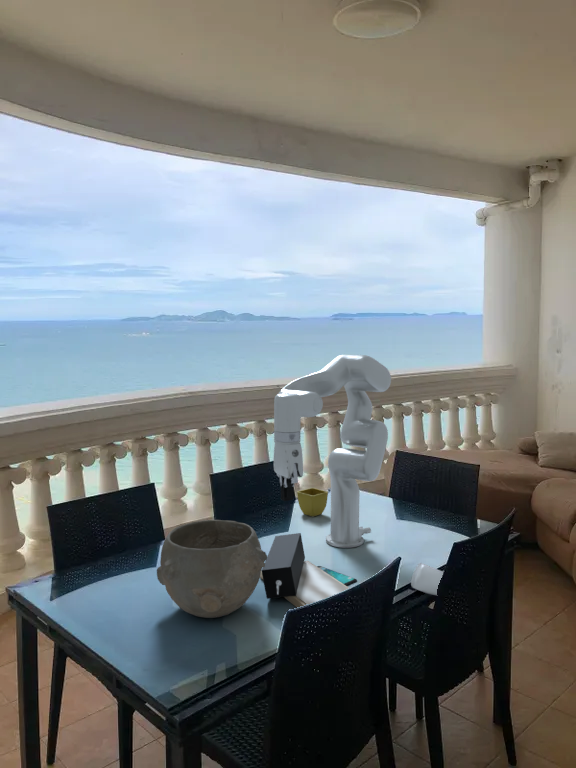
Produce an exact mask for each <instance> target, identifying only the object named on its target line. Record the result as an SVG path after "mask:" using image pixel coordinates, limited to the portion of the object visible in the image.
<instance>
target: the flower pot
mask: <svg viewBox="0 0 576 768" xmlns="http://www.w3.org/2000/svg"><path fill="white" fill-rule="evenodd" d="M296 493H297V494H296V495H297V502H298V506H299V508H300V510H301V512H302V513H303V515H306V516H309V517H312V518H313V517H316V516H320V515H322V514H323V513H324V511H325V510H326V507H327V503H328V496H329V491H326V490H322V489H319V488H315V487H310V488H306V489H302V490H298V491H296Z"/></svg>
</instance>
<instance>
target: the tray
mask: <svg viewBox="0 0 576 768" xmlns="http://www.w3.org/2000/svg"><path fill="white" fill-rule="evenodd" d="M259 579H261V580H263V576H262V570H261V574H260V578H259ZM348 588H350V587H349V586H346V585H344V584H342V583H341V582H339V581H338V580H336V579H335V578H333V577H332V576H330V575H329V574H327V573H326V572H324V571H323V570H321V569H320V568H318V567H317V566H316V565H315V564H314V563H312V562H311V561H309V560H304V564H303V568H302V572H301V576H300V580H299V584H298V589H297V594H296V596H287V597H283V598H284V599H285V600H287V601H288V602H289V603H291V604H292V605H293V606H295V608H297V607H300V606H304V605H306V604H310V603H313V602H316V601H319V600H322V599H325V598H327V597H329V596H332V595H334V594H337V593H339V592H342V591H344V590H346V589H348Z"/></svg>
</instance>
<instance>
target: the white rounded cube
mask: <svg viewBox="0 0 576 768" xmlns="http://www.w3.org/2000/svg"><path fill="white" fill-rule="evenodd" d="M443 572H444V571H442V570H440V569H437V568H435V567H432V566H430V565H428V564H425V563H423V562H419V563H418V564H417V565H416V566H415V567H414V569H413V572H412V575H411V581H410V585H411V588H413V589H415V590H418V591H420V592H423V593H425V594H426V595H427V594H428V595H433V596H438V595H437V589H438V585H439V583H440V580H441V578H442V575H443Z"/></svg>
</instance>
